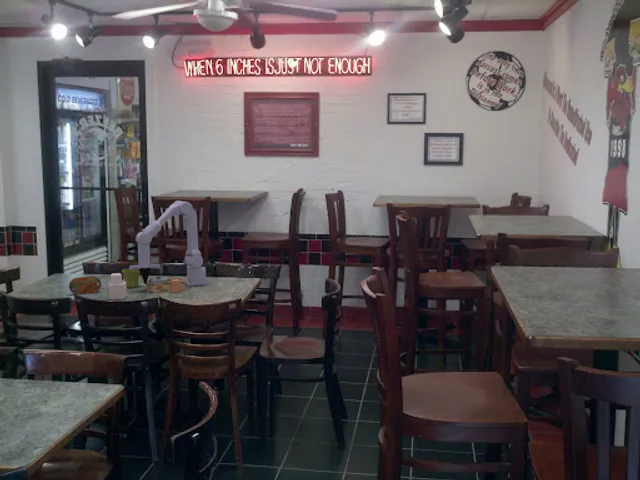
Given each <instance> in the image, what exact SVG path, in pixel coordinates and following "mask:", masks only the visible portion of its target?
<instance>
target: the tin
mask: <svg viewBox="0 0 640 480" xmlns="http://www.w3.org/2000/svg"><path fill="white" fill-rule="evenodd" d="M101 287H102V282H101V279H100V278H99V277H97V276H94V275H89V276H81V277H80V276H78V277H75V278H73V279H71V280H70V282H69V284H68V289H69V291H70V292H71V293H72V294H73V295H75V296H80V295H87V294H94V293H97V292H99V290H100V289H101Z"/></svg>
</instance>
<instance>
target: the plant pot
mask: <svg viewBox="0 0 640 480" xmlns="http://www.w3.org/2000/svg"><path fill="white" fill-rule="evenodd" d="M121 273H123V275H124V282H126V288H127V287H128V288H127V289H129V288H130V289H132V288H138V287H139V281H140V280H139V278H140V274H141V273H140V271H139V269H138V270H130V269H129V268H125V269H122V270H121ZM137 286H138V287H137Z"/></svg>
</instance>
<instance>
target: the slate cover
mask: <svg viewBox="0 0 640 480" xmlns="http://www.w3.org/2000/svg"><path fill="white" fill-rule="evenodd" d="M168 279H169V278H168V277H167V276H156V277H149V280H150V284H153V283H166V282H168Z"/></svg>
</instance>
